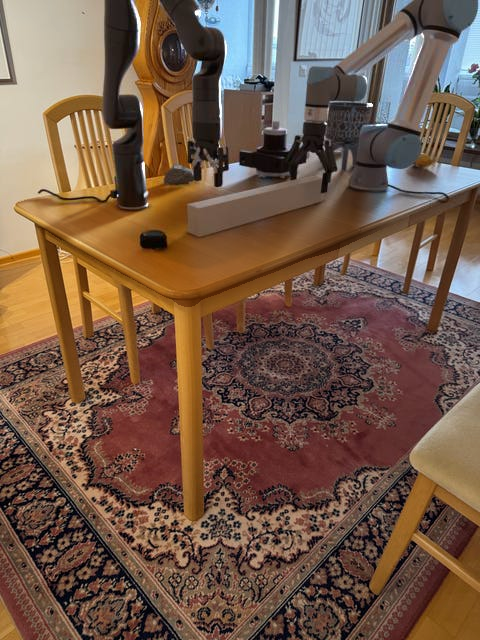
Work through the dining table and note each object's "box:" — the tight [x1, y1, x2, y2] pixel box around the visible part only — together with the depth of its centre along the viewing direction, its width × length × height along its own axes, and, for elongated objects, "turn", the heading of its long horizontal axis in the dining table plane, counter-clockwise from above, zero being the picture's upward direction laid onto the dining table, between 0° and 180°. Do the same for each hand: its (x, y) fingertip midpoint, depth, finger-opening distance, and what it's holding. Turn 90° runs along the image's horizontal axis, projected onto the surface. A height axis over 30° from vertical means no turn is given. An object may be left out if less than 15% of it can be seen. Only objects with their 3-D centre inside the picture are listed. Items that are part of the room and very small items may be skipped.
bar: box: [186, 174, 325, 238], centre depth 142 cm, size 56×5×8 cm, turn 134°
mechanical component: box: [238, 120, 311, 179], centre depth 191 cm, size 22×21×30 cm
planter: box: [324, 101, 374, 172], centre depth 204 cm, size 20×20×26 cm
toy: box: [412, 152, 435, 169], centre depth 214 cm, size 11×6×15 cm
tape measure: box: [139, 229, 168, 250], centre depth 117 cm, size 7×7×4 cm
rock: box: [163, 163, 194, 186], centre depth 176 cm, size 13×9×6 cm, turn 131°
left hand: (207, 183), depth 124 cm, fingers open, 8 cm apart
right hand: (307, 188), depth 155 cm, fingers open, 13 cm apart
